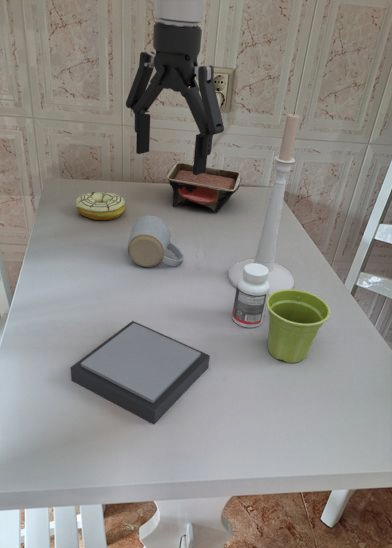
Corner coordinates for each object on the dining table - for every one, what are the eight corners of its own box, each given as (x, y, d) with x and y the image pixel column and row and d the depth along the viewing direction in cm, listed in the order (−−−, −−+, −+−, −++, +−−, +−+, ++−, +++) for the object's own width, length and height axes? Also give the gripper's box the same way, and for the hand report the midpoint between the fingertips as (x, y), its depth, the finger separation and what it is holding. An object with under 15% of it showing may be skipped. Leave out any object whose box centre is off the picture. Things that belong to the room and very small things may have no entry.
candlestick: (232, 258, 100) (257, 98, 81) (294, 269, 99) (333, 109, 80) (223, 290, 90) (249, 115, 71) (292, 302, 89) (337, 128, 70)
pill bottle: (238, 307, 86) (247, 257, 80) (267, 316, 84) (278, 266, 78) (226, 322, 82) (234, 271, 76) (256, 332, 81) (266, 281, 75)
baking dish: (223, 227, 116) (236, 187, 110) (154, 202, 117) (163, 160, 112) (235, 210, 128) (247, 173, 122) (172, 187, 129) (181, 149, 123)
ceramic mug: (125, 267, 93) (126, 230, 88) (132, 248, 100) (133, 212, 95) (180, 274, 93) (184, 237, 89) (183, 254, 100) (187, 219, 95)
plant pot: (276, 376, 72) (288, 329, 67) (246, 339, 79) (255, 293, 73) (327, 364, 76) (343, 318, 70) (295, 329, 82) (307, 285, 77)
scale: (69, 379, 68) (68, 363, 66) (130, 332, 78) (131, 316, 76) (154, 424, 63) (155, 408, 61) (208, 367, 72) (210, 352, 71)
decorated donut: (90, 200, 117) (89, 185, 114) (131, 209, 115) (132, 194, 112) (68, 216, 109) (67, 200, 106) (113, 226, 107) (112, 209, 104)
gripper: (258, 35, 72) (237, 178, 85) (137, 11, 83) (135, 141, 97) (229, 36, 67) (211, 187, 81) (104, 11, 79) (106, 147, 92)
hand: (169, 162), depth 89 cm, fingers open, 13 cm apart
